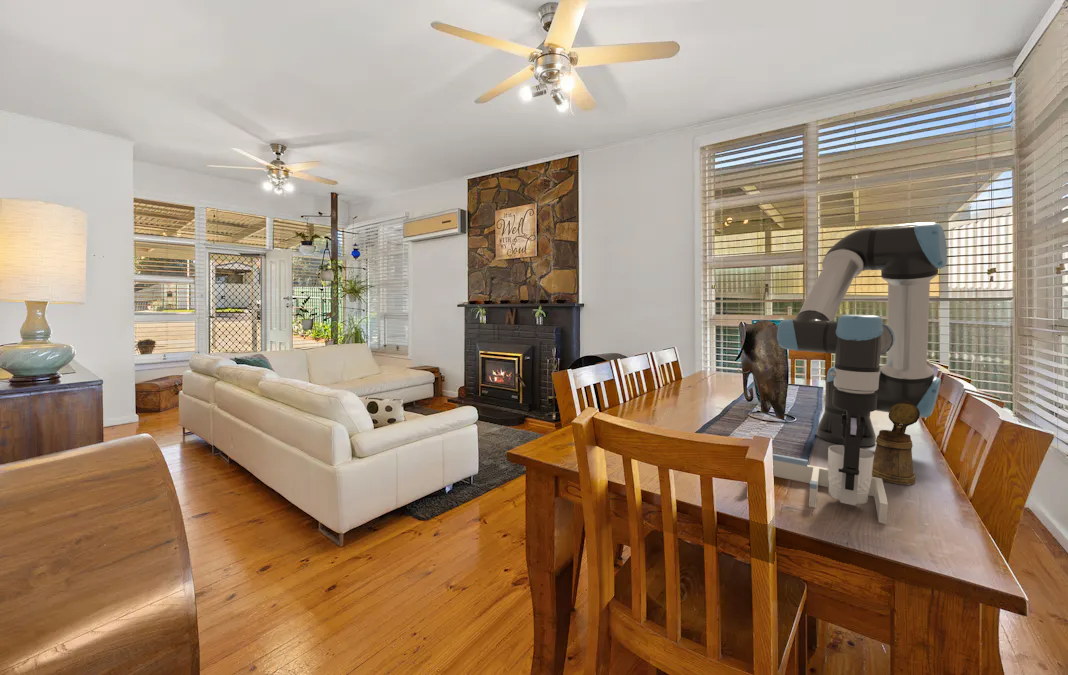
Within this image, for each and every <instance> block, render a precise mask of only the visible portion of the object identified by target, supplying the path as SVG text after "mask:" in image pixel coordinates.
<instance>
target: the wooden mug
mask: <svg viewBox="0 0 1068 675" xmlns="http://www.w3.org/2000/svg"><path fill="white" fill-rule="evenodd" d="M919 416H920V412H919V409H918V408H917V407H916V406H915V405H914V404H913V403H911V402H909V401H904V402H900V403H897V404H895V405H893V406H892V407H891V409H890V411H889V413H888V419H889V420H890V422H891V423H892V424H893V426H892V430H889V429H881V430H879V432H878V435H877V436H876V442H875V450H874V453H873V454H874V462H873V470H872V477H876V478H882V480H883V482H886V483H890V484H896V485H905V486H908V485H915V484H916V474H915V472H914V463H913V447H914V445H913V441H912V437H911V435H910V434H908V433H906V430H907V427H908V426H911V425H914V424H915V423H917V422H918V421H919V418H920V417H919Z"/></svg>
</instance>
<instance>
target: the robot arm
mask: <svg viewBox="0 0 1068 675" xmlns="http://www.w3.org/2000/svg"><path fill="white" fill-rule="evenodd" d="M947 246H948V245H947V239H946V235H945V231H944V229H943V227H942V226H941V224H940V223H937V222H933V221H932V222H912V223H901V224H894V225H892V224H891V225H884V226H873V227H871V226H870V227H866V228H861V229H858V230H856V231H854V232H851V233H850V234H848V235H846V236H844V237H843V238H841V239H840V240H838V242H836V243H834V245H833V246H831V247H830V248H829V250H828V251H827V252H826V254H825V256H824V257H823V259H822V262H821V267H822V269H821V271H820V274H819V275H818V276H817V279H816V281H815V283H814V285H813V286H812V288H811V290H810V292H809V293H808V296H807V297H806V299H805V301H804V303H803V304H802V307H801V308H800V310H799V312H798V314H797V315H796V317H795V318H794V319H793V318H790V319H789V318H787V319H783V320H781V321H780V323H779V324H778V326H777V331H776V339H777V344H778V346H779V347H780V348H781V349H783V350H789V351H796V352H809V353H824V354H834V366H832V367H830V368H829V369H828V370H827V375H826V379H825V384H826V385H825V397H824V399H825V400H824V412H823V415H822V417H821V419H820V421H819V423H818V426H817V428H816V436H817V437H818V438H820V439H821V440H824V441H826V442H830V443H834V444H837V445H844V462H843V468H842V469H839V471H838V472H842V478H841V494H840V500H839V503H840V504H845V505H846V504H847V505H851V506H855V507H856V506H857V504H856V501H857V487H858V475H859V455H860V448H861V447H871V446H876V439H877V436H876V433H875V429H874V427H873V423H872V420H871V413H872V412H875V411H876V412H883V413H887V414H889V411H890V409H891V407H892V406H893V405H895V404H897V403H900V402H904V401H909V402H911V403H913V404H914V405H915V406H916V407H917V408H918V409H919V412H920V416H919V418H928V417H931V415H932V414H933V412H934V410H935V406H936V403H937V400H938V396H939V392H940V388H941V385H942V384H941V383H942V379H941V378H940V377H938V376H935V374H934V373H935V370H934V368H932V367H930V365H928V342H929V341H928V338H929V319H930V318H929V314H930V313H929V311H930V291H931V290H930V287H931V286H930V285H931V280H933V279H934V278H936V277H937V276H939V269H943V268H945V267H946V266H947V263H948V262H947V261H948V256H947V255H948V248H947ZM864 271H865V272H866V271H881V272H880V275H881V279H882V280H884V281H885V282H886V283H888V284H887V286H888V287H887V293H888V294H887V324H886V323H884V322H883V318H882V317H881V316H880V315H876V314H875V315H873V314H842V315H840V316H839V317H838V318H837V320H834V319H835V317H836V315H837V312H838V311H839V309H840V307H841V304H842V302H843V300H844V298H845V296H846V295H847V293H848V290H849V288H850V286H851V284H852V283H853V280H854V278H856V277H857V276H859V275H860V274H862V272H864ZM885 354H886V355H887V356H886V358H887V359H886V360H887V361H886V363H885V364H884V365H882V366H881V367H880V362H881V356H882V355H885ZM850 467H851V468H850Z"/></svg>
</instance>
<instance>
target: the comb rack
mask: <svg viewBox="0 0 1068 675" xmlns="http://www.w3.org/2000/svg"><path fill="white" fill-rule="evenodd" d="M772 454H773V466H774V476H773V477H777V478H781V479H787V480H790V481H795V482H801V483H807V484H809V496H808V498H809V500H808V507H810V508H814V509H816V506H817V500H818V499H817V498H818V491H819V486H821V487H826V488H829V480H828V467H822V466H818V465H817V466H816V465H809V464H808V463H809V460H808V459H804V458H798V457H793V456H788V455H783V454H776V453H772ZM884 485H885V484H884V481H883V480H882V478H876V477H873V476H872V478H871V484H870V489H869V494H868V497H869V496H870V497H873V498H874V503H875V508H876V515H877V521H878V523H881V524H884V525H886V524H887V519H888V508H889V507H888V506H889V503H888V499H887V495H886V490H885V486H884Z"/></svg>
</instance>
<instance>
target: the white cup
mask: <svg viewBox="0 0 1068 675" xmlns="http://www.w3.org/2000/svg"><path fill="white" fill-rule="evenodd" d="M827 450H828V451H827V468H828V480H829V487H828V494H829V496H830V497H832V498H834V499H835V500H838V501H840V494H841V478H842V472H838V471H839V469H842V468H843V462H844V445H843V444H836V445H835V444H834V445H830V446H828V448H827ZM873 462H874V453H873V452H871V451H870V450H867V449H864V448H861V447H860V455H859V475H858V487H857V501H856V505H863V504H867V502H868V500H869V495H868V494H869V489H870V484H871V478H872V477H873V476H872V470H873ZM850 468H851V467H850Z"/></svg>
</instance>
